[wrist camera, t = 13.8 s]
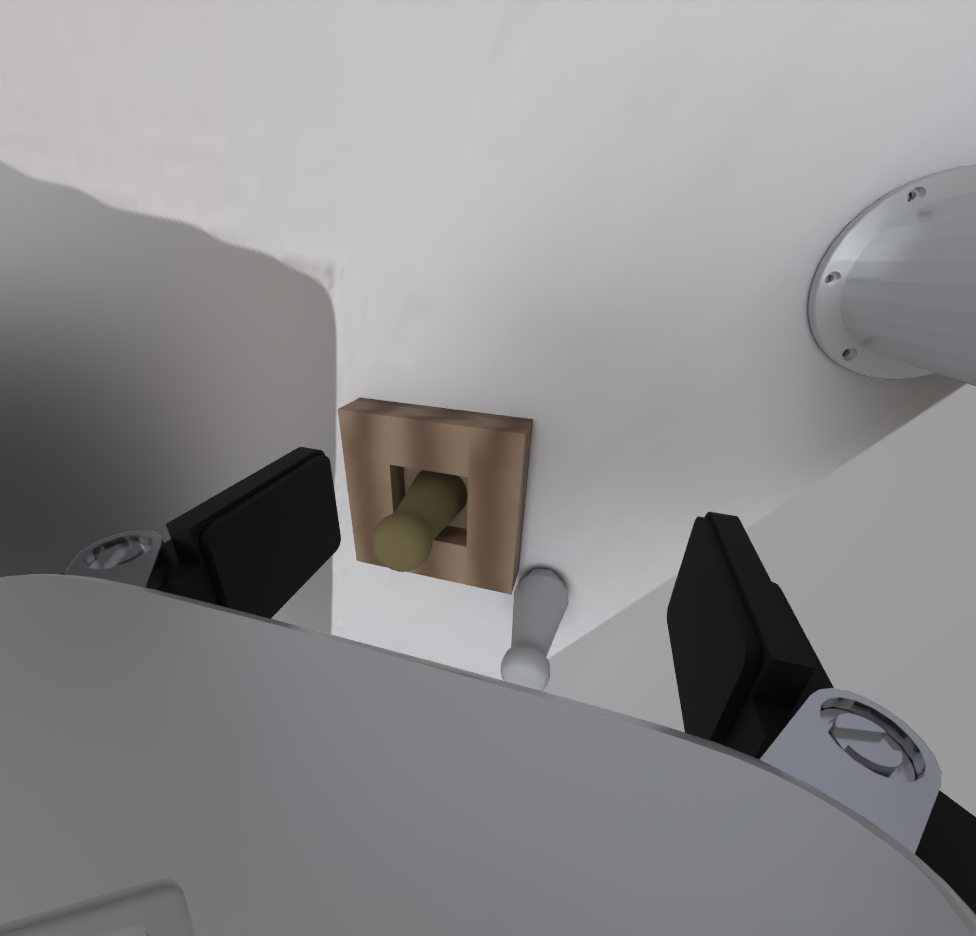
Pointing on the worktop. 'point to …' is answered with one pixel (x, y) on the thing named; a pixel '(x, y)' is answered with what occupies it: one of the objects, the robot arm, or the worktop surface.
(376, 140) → the worktop surface
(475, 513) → the walnut holder
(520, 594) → the salt shaker
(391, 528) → the olive pepper mill
